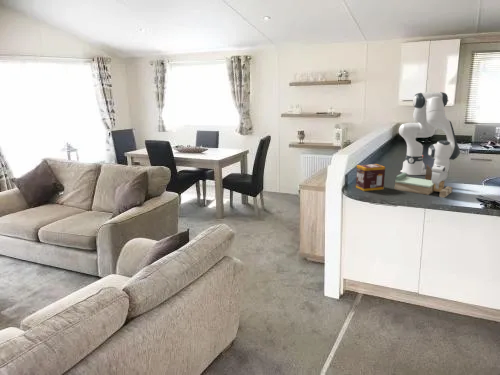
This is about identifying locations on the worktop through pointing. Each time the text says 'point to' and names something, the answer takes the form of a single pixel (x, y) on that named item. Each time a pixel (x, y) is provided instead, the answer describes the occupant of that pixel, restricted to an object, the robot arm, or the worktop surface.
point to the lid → (413, 181)
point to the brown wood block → (441, 186)
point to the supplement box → (370, 177)
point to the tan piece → (422, 189)
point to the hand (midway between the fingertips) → (438, 187)
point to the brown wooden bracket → (428, 173)
